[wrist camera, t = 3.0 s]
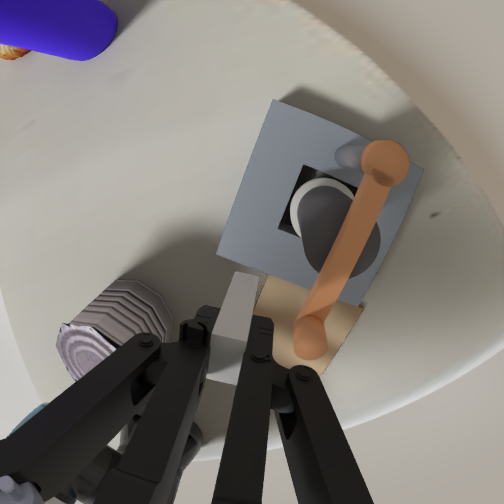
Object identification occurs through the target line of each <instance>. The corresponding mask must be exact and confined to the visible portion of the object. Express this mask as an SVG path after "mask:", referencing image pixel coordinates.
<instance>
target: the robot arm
mask: <svg viewBox="0 0 504 504" xmlns="http://www.w3.org/2000/svg"><path fill="white" fill-rule="evenodd" d="M258 281H259V276H257V275H252V274H247V273H242V272H237V271H235V273H234V275H233V278H232V281H231V283H230V286H229V289H228V291H227V294H226V297H225V299H224V302H223V304H222V307H221V308H216V307H211V306H207V305H204V306H203V307H201V308H200V309H199V310H198V312H197V314H196V316H195V318H194V319H191V320H186V321H184V322H182V323H181V324H180V337H179V341H178V342H173V343H164V342H161V340H160V339H159V337H158V336H156V335H155V334H152V333H148V332H142V333H138V334H136V335H134V336H133V337H132V338H130V339H129V340H128V341H127V342H125V343H124V344H123V345H122V346H120V347H119V348H118V349H116V350H115V351H114V352H113V353H111V354H110V355H109V356H108V357H106V358H105V359H104V360H103V361H101V362H100V363H99V364H98V365H96V366H95V367H94V368H93V369H91V370H90V371H89V372H88V373H86V374H85V375H84V376H83V377H81V378H80V379H79V380H78V381H76V382H75V383H74V384H73V385H71V386H70V387H69V388H68V389H66V390H65V391H64V392H63V393H61V394H60V395H59V396H58V397H56V398H55V399H54V400H53V401H51V402H50V403H43V404H41V405H39V406H38V407H37V408H36V409H34V410H33V411H32V412H31V413H30V414H29V415H28V416H27V417H25V418H24V419H23V420H22V421H21V422H20V423H19V424H18V425H17V426H16V427H15V428H14V429H13V431H12V432H11V433H10V435H9V436H7V437H6V439H3V440H0V504H74V503H75V502H76V500H79V501H80V502H82V503H84V504H173V503H174V500H175V497H176V493H177V490H178V486H179V483H180V479H181V476H182V473H183V471H184V469H185V468H186V467H187V466H188V464H189V463H190V462H191V461H192V460H193V458H194V457H195V456H196V454H197V453H198V452H199V450H200V447H201V444H202V440H203V437H202V433H201V431H200V429H199V428H198V427H197V426H196V425H195V424H194V423H193V419H194V416H195V413H196V410H197V407H198V404H199V401H200V397H201V394H202V391H203V388H204V382H205V377H206V379H210V380H214V381H219V382H223V383H228V384H233V385H237V387H236V392H235V396H234V401H233V406H232V411H231V415H230V420H229V425H228V429H227V434H226V439H225V443H224V448H223V453H222V457H221V462H220V467H219V471H218V476H217V480H216V485H215V490H214V494H213V499H212V503H211V504H262V492H263V482H264V472H265V462H266V451H267V441H268V429H269V417H270V409H273V410H275V416H276V420H277V424H278V428H279V432H280V436H281V440H282V443H283V447H284V451H285V455H286V459H287V463H288V466H289V470H290V474H291V478H292V481H293V485H294V489H295V493H296V496H297V500H298V504H374V503H373V500H372V498H371V496H370V493H369V491H368V488H367V486H366V484H365V481H364V479H363V477H362V474H361V472H360V470H359V467H358V465H357V463H356V460H355V458H354V456H353V453H352V451H351V449H350V446H349V444H348V442H347V439H346V437H345V435H344V432H343V430H342V428H341V425H340V423H339V421H338V418H337V416H336V414H335V412H334V409H333V407H332V405H331V402H330V400H329V398H328V396H327V393H326V391H325V389H324V386H323V384H322V382H321V380H320V377H319V375H318V373H317V372H316V371H315V370H314V369H312V368H311V367H308V366H306V365H295V366H293V367H291V368H290V369H288V368H286V367H283V366H281V365H280V364H278V363H277V362H276V361H275V360H274V358H273V355H272V351H273V335H274V323H273V321H272V319H271V318H268V317H263V316H258V315H253V308H254V303H255V298H256V292H257V287H258ZM206 374H207V375H206ZM149 399H150V400H149ZM148 400H149V402H147V401H148ZM120 430H121V435H120V445H119V447H118V449H117V451H116V450H114V449H113V448H111V447H110V446H108V445H107V444H108V443H109V442H110V441H111V440H112V439H113V438H114V437H115V436H116V435H117V434H118V433H119V431H120Z"/></svg>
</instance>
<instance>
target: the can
mask: <svg viewBox="0 0 504 504" xmlns="http://www.w3.org/2000/svg"><path fill="white" fill-rule="evenodd" d="M173 320H174V318H173V316H172V314H171V312H170V310H169V309H168V307H167V305H166V303H165V301H164V299H163V297H162V296H161V295H160V294H159V293H157V292H156V291H154V290H153V289H151V288H150V287H148V286H147V285H145V284H144V283H142V282H141V281H139V280H115V281H114V282H113V283H112V284H111V285H110V286H109V287H107V288H106V289H105V290H104V291H103V292H102V293H101V294H100V295H99V296H98V297H96V298H95V299H94V300H93V301H92V302H91V303H90V304H89V305H88V306H87V307H86V308H85V309H84V310H82V311H81V312H80V313H79V314H78V315H77V316H76V317H75V318H74V319H73V320H72V321H71V322H70V323H69V324H65V323H62V325H61V328H60V331H59V335H58V339H57V342H56V347H57V349H58V351H59V354H60V356H61V358H62V360H63V362H64V364H65V366H66V368H67V370H68V372H69V374H70V375H71V377H72V378H73V379H74V380H75V381H78V380H79V379H80V378H81V377H83V376H84V375H85V374H86V373H88V372H89V371H90V370H91V369H93V368H94V367H95V366H96V365H98V364H99V363H100V362H101V361H103V360H104V359H105V358H106V357H108V356H109V355H110V354H111V353H113V352H114V351H115V350H116V349H118V348H119V347H120V346H122V345H123V344H124V343H125V342H127V341H128V340H129V339H130V338H132V337H133V336H134V335H136V334H138V333H142V332H148V333H152V334H155V335H156V336H158V337H159V339H160V340H161V342H164V343H169V341H170V339H171V335H172V327H173Z"/></svg>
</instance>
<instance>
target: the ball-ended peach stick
mask: <svg viewBox="0 0 504 504" xmlns="http://www.w3.org/2000/svg"><path fill="white" fill-rule="evenodd" d="M361 167H362V170H363V172H364V176H363V178H362V181H361V183H360V185H359V188H358V190H357V192H356V195H355V197H354V199H353V202H352V204H351V206H350V209H349V211H348V213H347V215H346V218H345V220H344V222H343V224H342V226H341V229H340V231H339V233H338V235H337V237H336V240H335V242H334V244H333V246H332V248H331V250H330V252H329V254H328V257H327V259H326V261H325V263H324V265H323V267H322V269H321V271H320V273H319V275H318V277H317V279H316V281H315V283H314V285H313V287H312V289H311V291H310V293H309V295H308V297H307V299H306V301H305V303H304V305H303V307H302V309H301V311H300V313H299V314H298V316H297V318H296V320H295V322H294V324H293V341H294V352H295V354H296V355H297V356H298V357H299V358H301V359H303V360H308V361H310V360H316V359H319V358H321V357H322V356H323V355H324V354H325V353H326V352H327V349H328V342H327V336H326V331H325V326H324V322H325V320H326V318H327V316H328V315H329V313H330V311H331V309H332V307H333V306H334V304H335V302H336V300H337V298H338V297H339V295H340V293H341V291H342V289H343V287H344V285H345V284H346V282H347V280H348V278H349V276H350V274H351V272H352V270H353V268H354V266H355V264H356V262H357V260H358V258H359V256H360V254H361V252H362V250H363V248H364V246H365V244H366V242H367V240H368V238H369V236H370V234H371V231H372V229H373V227H374V225H375V223H376V221H377V218H378V216H379V214H380V212H381V210H382V207H383V205H384V203H385V200H386V198H387V196H388V193H389V191H390V189H391V186H395V185H398V184H399V183H401V182H402V181H403V180H404V179H405V177H406V175H407V173H408V169H409V159H408V156H407V153H406V151H405V150H404V148H403V147H402V146H401V145H400V144H398V143H397V142H395V141H392V140H376V141H373V142H371V143H369V144H368V145H367V146H366V147H365V148H364V150H363V152H362V154H361Z"/></svg>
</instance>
